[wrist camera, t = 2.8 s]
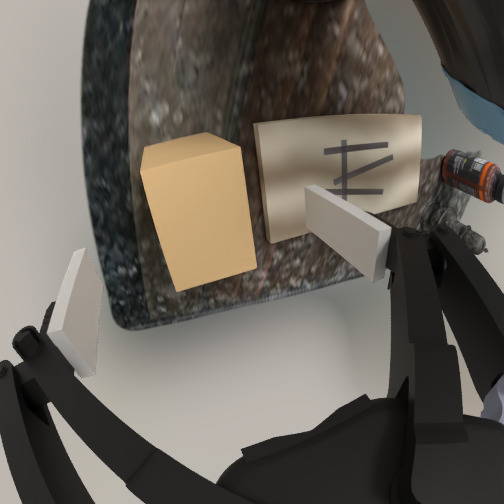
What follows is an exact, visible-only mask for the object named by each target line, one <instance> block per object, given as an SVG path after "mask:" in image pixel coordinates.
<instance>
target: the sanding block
mask: <svg viewBox="0 0 504 504" xmlns="http://www.w3.org/2000/svg"><path fill="white" fill-rule="evenodd" d="M140 173H141V177H142V181H143V185H144V189H145V192H146V196H147V200H148V203H149V207H150V210H151V214H152V217H153V221H154V224H155V228H156V231H157V234H158V238H159V241H160V244H161V247H162V250H163V253H164V257H165V260H166V263H167V266H168V269H169V272H170V275H171V278H172V280H173V283H174V286H175V289H176V292H179V291H182V290H186V289H189V288H192V287H196V286H199V285H203V284H206V283H209V282H213V281H216V280H219V279H223V278H226V277H229V276H233V275H236V274H239V273H243V272H246V271H249V270H253V269H256V268H257V263H256V256H255V249H254V241H253V234H252V227H251V219H250V212H249V205H248V197H247V190H246V183H245V176H244V169H243V161H242V154H241V147H239V146H237V145H235V144H233V143H231V142H228V141H226V140H224V139H222V138H219V137H217V136H215V135H213V134H210V133H208V132H204V133H199V134H194V135H190V136H185V137H181V138H177V139H173V140H169V141H165V142H161V143H157V144H153V145H150V146H146V147H144V152H143V157H142V163H141V169H140Z"/></svg>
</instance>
